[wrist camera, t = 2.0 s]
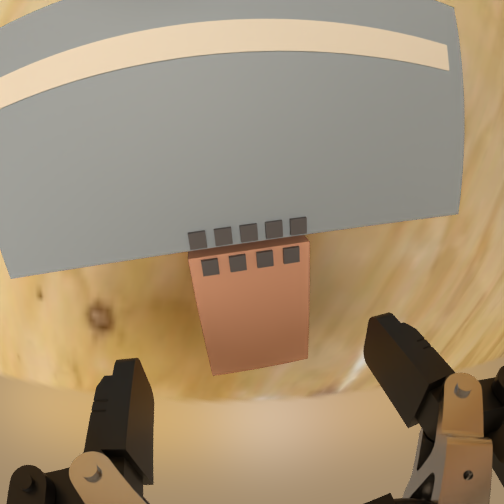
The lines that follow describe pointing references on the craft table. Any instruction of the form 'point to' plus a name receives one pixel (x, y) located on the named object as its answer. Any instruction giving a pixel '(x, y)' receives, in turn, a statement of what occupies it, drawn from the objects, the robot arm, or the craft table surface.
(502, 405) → the robot arm
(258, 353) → the stub
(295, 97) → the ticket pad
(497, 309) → the craft table surface
